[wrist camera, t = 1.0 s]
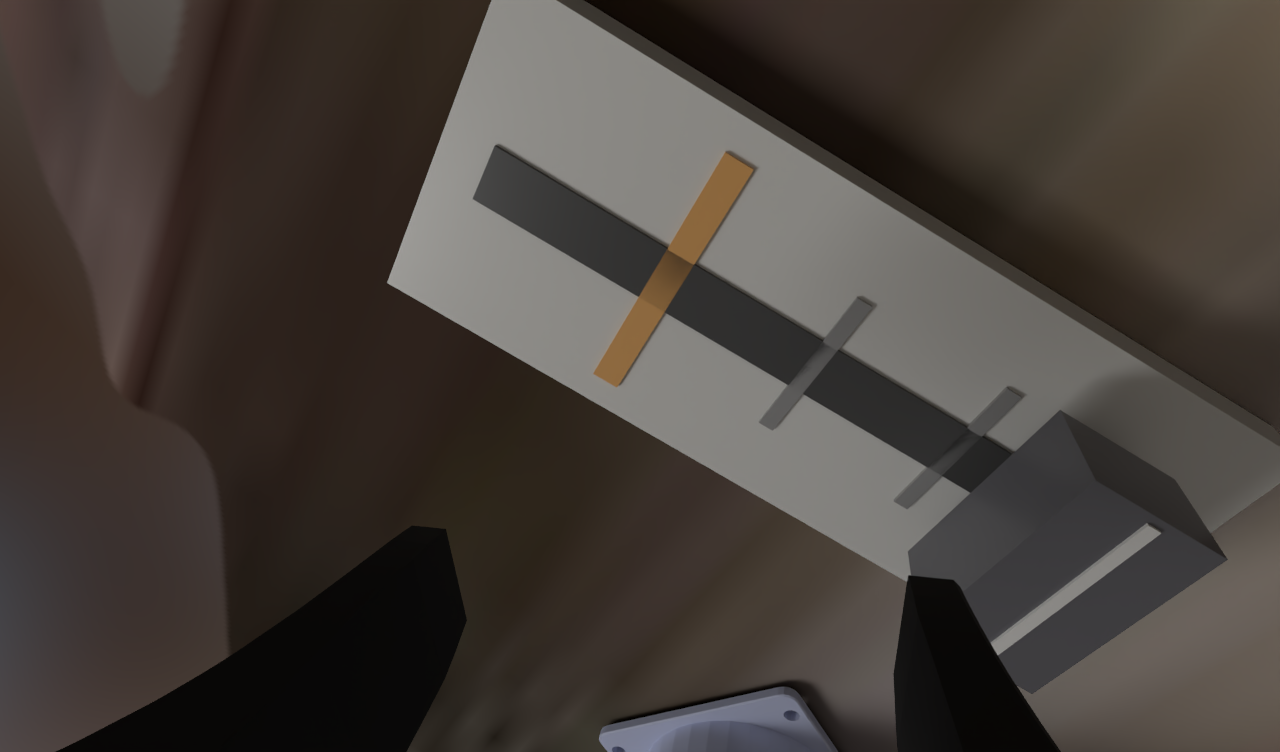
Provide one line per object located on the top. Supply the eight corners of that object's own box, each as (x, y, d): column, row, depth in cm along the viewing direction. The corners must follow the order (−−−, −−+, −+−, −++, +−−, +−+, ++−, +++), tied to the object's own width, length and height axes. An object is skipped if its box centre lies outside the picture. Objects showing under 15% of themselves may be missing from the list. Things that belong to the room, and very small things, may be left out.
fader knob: (1159, 455, 17) (1229, 561, 14) (1001, 583, 20) (1032, 696, 17) (1049, 388, 17) (1097, 482, 14) (904, 527, 19) (918, 631, 16)
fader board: (1272, 426, 18) (1309, 466, 16) (1025, 615, 22) (1038, 660, 21) (528, -34, 16) (501, -32, 15) (414, 261, 21) (385, 284, 19)
